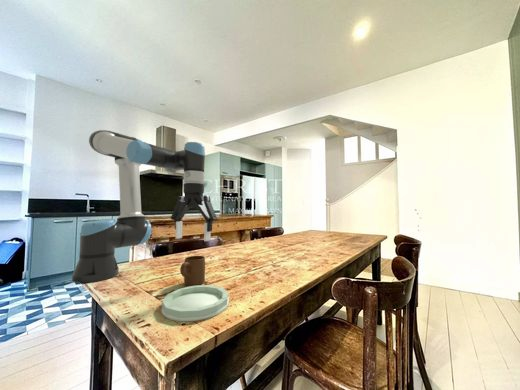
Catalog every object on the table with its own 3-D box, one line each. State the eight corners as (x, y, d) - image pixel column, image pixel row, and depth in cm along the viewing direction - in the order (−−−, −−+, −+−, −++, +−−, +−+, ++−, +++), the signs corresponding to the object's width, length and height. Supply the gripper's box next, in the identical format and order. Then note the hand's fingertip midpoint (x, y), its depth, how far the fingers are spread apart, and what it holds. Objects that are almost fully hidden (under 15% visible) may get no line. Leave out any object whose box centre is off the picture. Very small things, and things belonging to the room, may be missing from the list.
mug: (190, 292, 72) (190, 263, 72) (171, 289, 74) (172, 262, 75) (208, 280, 83) (208, 256, 84) (191, 278, 85) (192, 255, 86)
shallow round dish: (145, 312, 58) (146, 303, 58) (193, 288, 75) (193, 281, 75) (201, 328, 50) (201, 317, 50) (240, 298, 67) (240, 290, 67)
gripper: (162, 183, 83) (160, 238, 81) (215, 180, 73) (213, 243, 71) (176, 185, 90) (175, 236, 88) (227, 183, 80) (226, 240, 78)
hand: (192, 239), depth 80 cm, fingers open, 13 cm apart
